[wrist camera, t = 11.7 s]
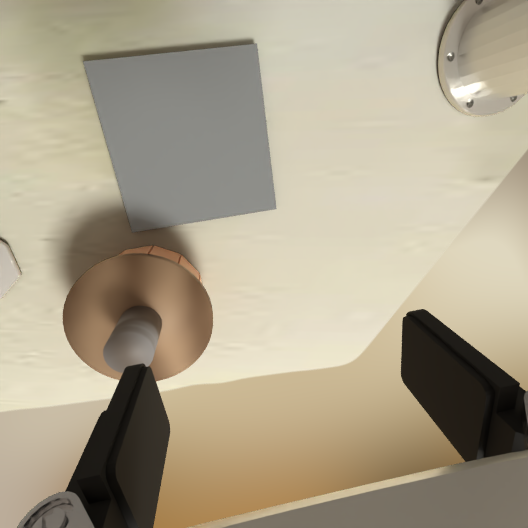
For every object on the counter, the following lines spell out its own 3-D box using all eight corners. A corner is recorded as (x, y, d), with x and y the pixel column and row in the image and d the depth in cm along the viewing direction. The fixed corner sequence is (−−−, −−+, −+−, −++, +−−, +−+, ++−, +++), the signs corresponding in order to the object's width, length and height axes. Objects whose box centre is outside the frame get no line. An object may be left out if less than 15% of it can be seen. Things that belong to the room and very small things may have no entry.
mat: (255, 46, 31) (256, 43, 30) (274, 207, 36) (276, 208, 35) (87, 64, 29) (82, 61, 28) (134, 230, 34) (132, 232, 33)
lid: (197, 241, 30) (194, 260, 24) (223, 360, 35) (226, 399, 29) (44, 268, 28) (4, 295, 23) (94, 388, 33) (70, 435, 28)
